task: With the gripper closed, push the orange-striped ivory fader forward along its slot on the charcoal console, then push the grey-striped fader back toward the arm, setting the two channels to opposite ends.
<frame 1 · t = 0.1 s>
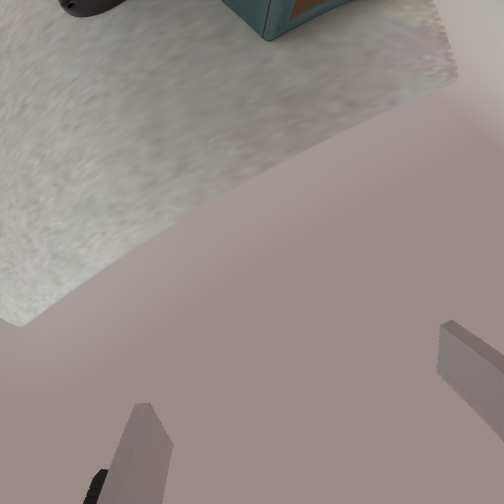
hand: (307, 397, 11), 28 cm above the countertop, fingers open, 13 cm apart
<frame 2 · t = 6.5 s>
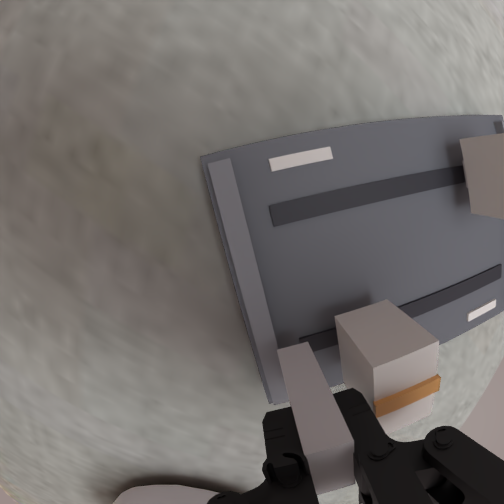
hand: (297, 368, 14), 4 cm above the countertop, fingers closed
fader low: (379, 360, 12), point 5 cm above the countertop, slide at -4.4 cm, touching gripper
console: (399, 241, 17), on the countertop
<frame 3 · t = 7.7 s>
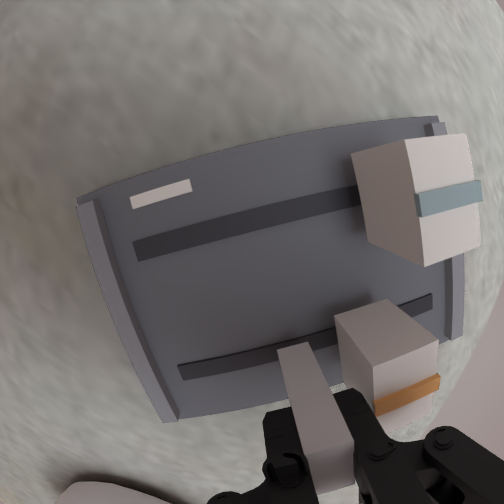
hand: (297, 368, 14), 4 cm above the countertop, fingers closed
fader high: (407, 193, 11), point 5 cm above the countertop, slide at 4.5 cm
fader low: (379, 359, 12), point 5 cm above the countertop, slide at 2.3 cm, touching gripper
console: (294, 270, 17), on the countertop
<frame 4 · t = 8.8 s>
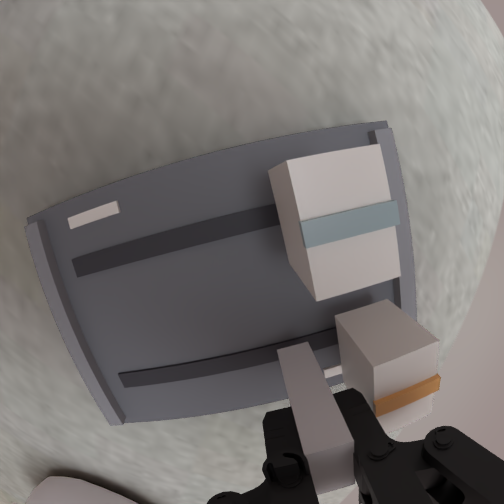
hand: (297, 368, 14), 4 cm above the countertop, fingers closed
fader high: (323, 213, 11), point 5 cm above the countertop, slide at 4.5 cm
fader low: (379, 359, 12), point 5 cm above the countertop, slide at 6.1 cm, touching gripper
console: (228, 287, 17), on the countertop
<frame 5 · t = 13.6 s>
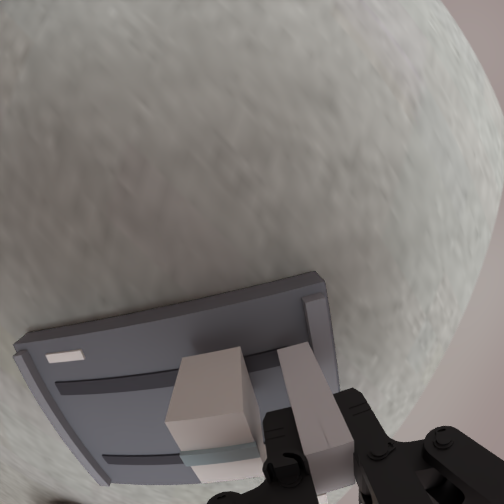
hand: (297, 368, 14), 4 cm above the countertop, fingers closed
fader high: (221, 408, 12), point 5 cm above the countertop, slide at 3.9 cm, touching gripper
fader low: (294, 480, 14), point 5 cm above the countertop, slide at 6.1 cm
console: (182, 403, 18), on the countertop
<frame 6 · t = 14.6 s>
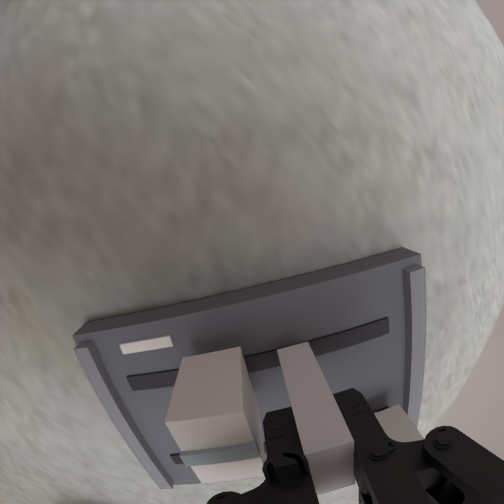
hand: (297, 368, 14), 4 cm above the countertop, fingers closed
fader high: (221, 408, 12), point 5 cm above the countertop, slide at -1.9 cm, touching gripper
fader low: (388, 451, 14), point 5 cm above the countertop, slide at 6.1 cm
console: (267, 388, 18), on the countertop
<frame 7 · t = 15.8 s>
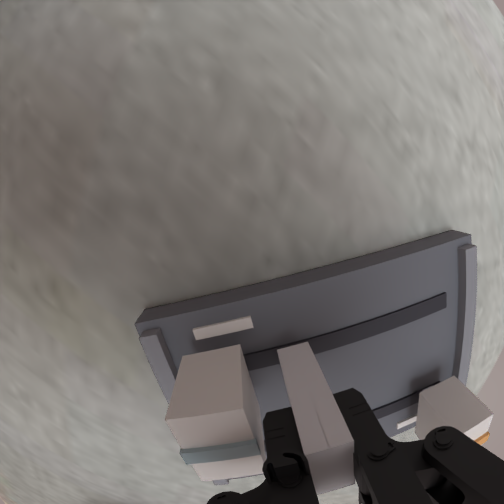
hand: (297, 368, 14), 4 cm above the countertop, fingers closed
fader high: (221, 406, 12), point 5 cm above the countertop, slide at -6.1 cm, touching gripper
fader low: (447, 420, 14), point 5 cm above the countertop, slide at 6.1 cm
console: (331, 369, 18), on the countertop
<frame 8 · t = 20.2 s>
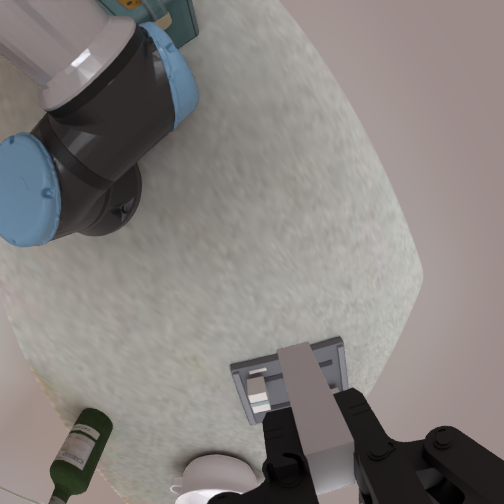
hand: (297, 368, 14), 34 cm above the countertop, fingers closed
pot: (220, 468, 58), on the countertop
fader high: (258, 392, 47), point 5 cm above the countertop, slide at -6.2 cm
fader low: (333, 403, 48), point 5 cm above the countertop, slide at 6.1 cm
console: (292, 381, 53), on the countertop
teal lunch box: (138, 15, 38), on the countertop
wine bottle: (97, 420, 54), on the countertop
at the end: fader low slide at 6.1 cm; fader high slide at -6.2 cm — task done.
